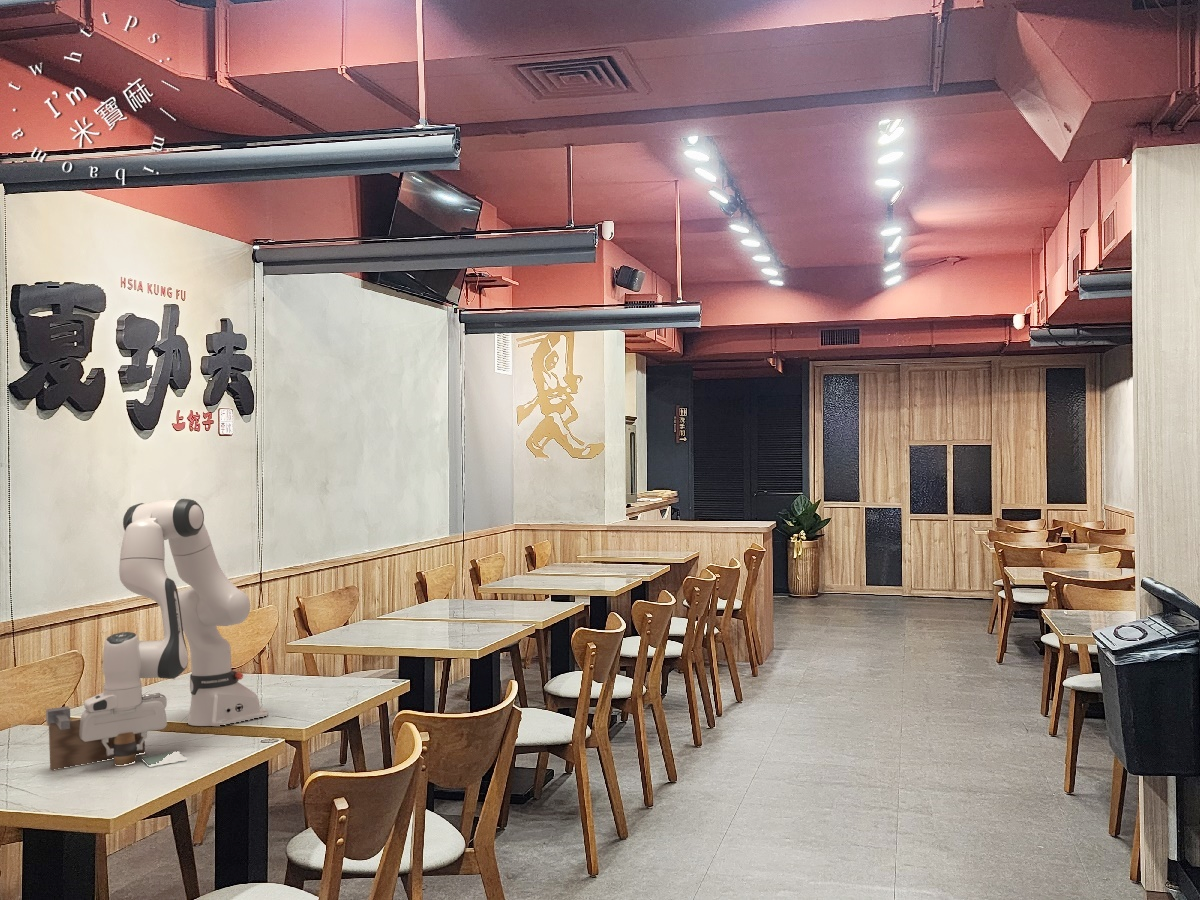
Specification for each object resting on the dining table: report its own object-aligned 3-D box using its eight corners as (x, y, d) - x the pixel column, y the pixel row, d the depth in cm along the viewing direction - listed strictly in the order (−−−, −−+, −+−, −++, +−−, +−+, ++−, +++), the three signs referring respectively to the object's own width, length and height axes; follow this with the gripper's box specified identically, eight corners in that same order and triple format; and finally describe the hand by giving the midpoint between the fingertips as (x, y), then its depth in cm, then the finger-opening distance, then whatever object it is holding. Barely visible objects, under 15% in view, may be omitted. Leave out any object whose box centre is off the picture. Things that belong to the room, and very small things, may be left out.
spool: (134, 759, 272) (133, 728, 272) (138, 763, 268) (137, 732, 268) (111, 763, 269) (110, 731, 269) (115, 768, 265) (114, 735, 265)
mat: (178, 753, 276) (178, 750, 276) (186, 760, 269) (186, 757, 269) (141, 760, 271) (141, 757, 271) (149, 767, 264) (149, 764, 264)
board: (143, 752, 279) (142, 708, 279) (145, 754, 277) (143, 710, 277) (50, 768, 266) (48, 722, 266) (51, 770, 264) (49, 724, 264)
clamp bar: (68, 718, 269) (67, 706, 269) (76, 728, 258) (76, 715, 258) (46, 721, 267) (45, 709, 267) (54, 731, 255) (53, 719, 255)
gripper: (163, 689, 277) (165, 742, 277) (77, 702, 266) (78, 757, 265) (169, 693, 272) (170, 747, 272) (81, 706, 260) (83, 762, 260)
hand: (124, 752), depth 269 cm, fingers closed on spool, 5 cm apart
